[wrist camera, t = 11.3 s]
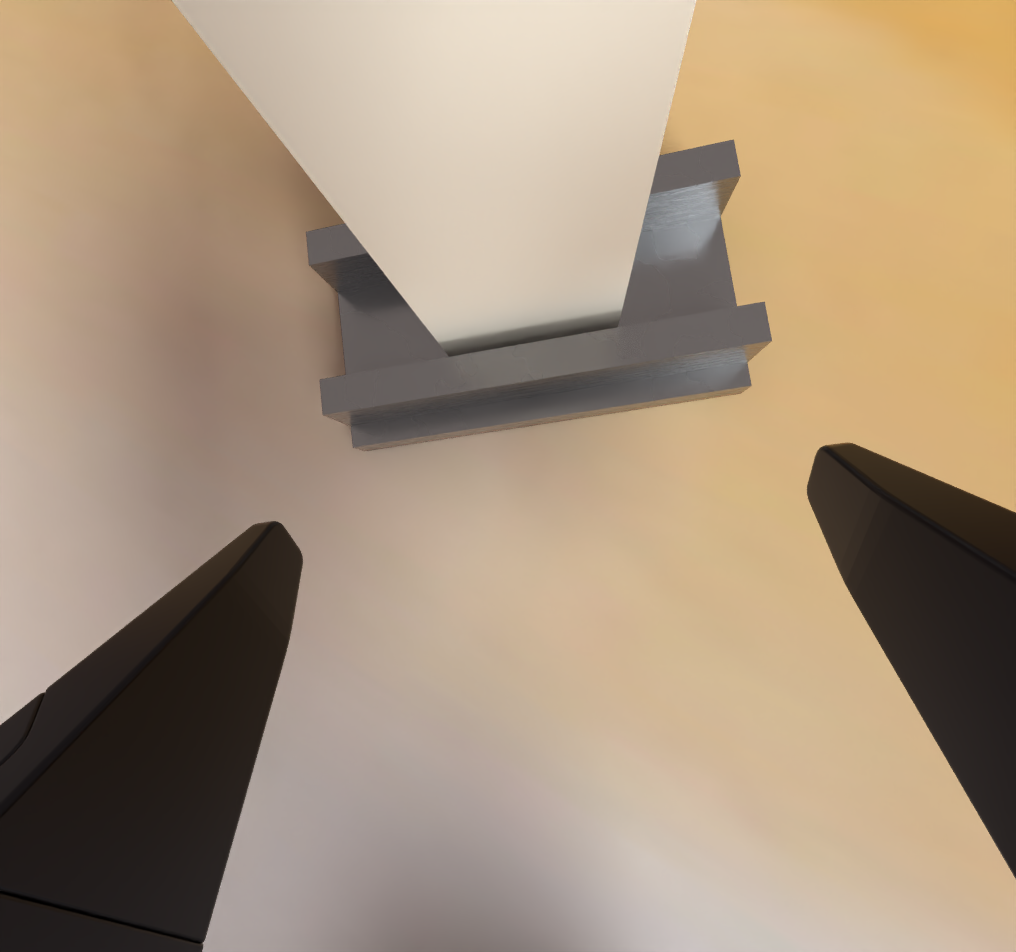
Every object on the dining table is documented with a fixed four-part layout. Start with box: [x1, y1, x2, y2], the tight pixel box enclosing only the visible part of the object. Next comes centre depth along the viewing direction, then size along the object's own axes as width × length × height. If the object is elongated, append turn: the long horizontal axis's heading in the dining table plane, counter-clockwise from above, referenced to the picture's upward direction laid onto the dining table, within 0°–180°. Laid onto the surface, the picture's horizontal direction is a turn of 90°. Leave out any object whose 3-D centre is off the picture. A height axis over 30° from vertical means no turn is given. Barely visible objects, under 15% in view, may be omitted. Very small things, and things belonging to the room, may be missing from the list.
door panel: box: [172, 0, 696, 357], centre depth 11 cm, size 3×6×13 cm, turn 98°
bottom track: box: [306, 140, 772, 451], centre depth 17 cm, size 8×14×3 cm, turn 97°
